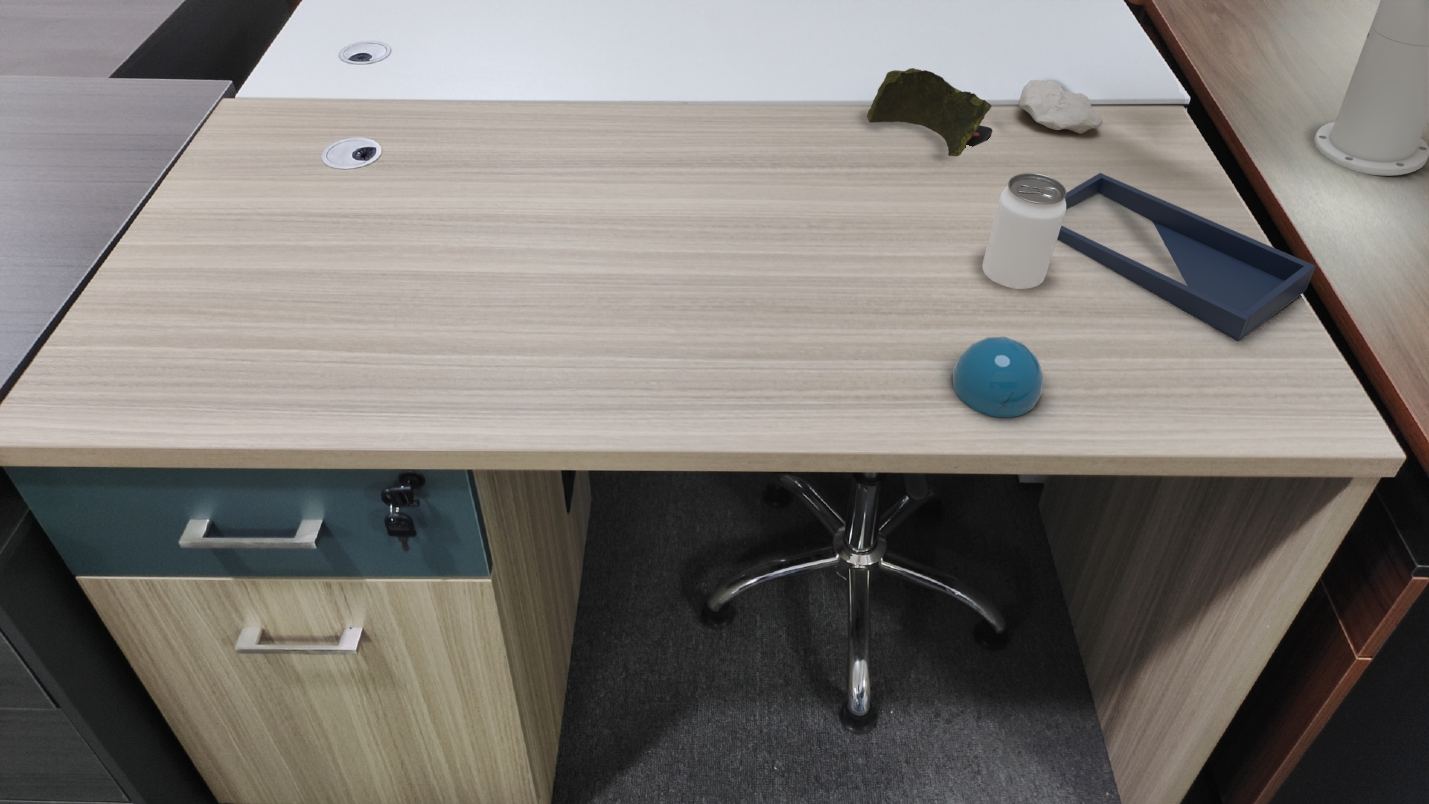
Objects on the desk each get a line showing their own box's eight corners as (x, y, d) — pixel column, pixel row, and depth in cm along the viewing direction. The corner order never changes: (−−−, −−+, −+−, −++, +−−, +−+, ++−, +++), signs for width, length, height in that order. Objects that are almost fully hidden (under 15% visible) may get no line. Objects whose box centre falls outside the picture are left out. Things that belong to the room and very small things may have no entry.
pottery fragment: (841, 140, 129) (846, 156, 133) (939, 185, 123) (942, 200, 127) (897, 52, 130) (901, 70, 133) (997, 93, 124) (998, 111, 128)
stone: (1090, 155, 129) (1082, 111, 141) (1107, 125, 126) (1097, 83, 138) (1011, 126, 129) (1009, 85, 141) (1026, 96, 126) (1023, 56, 138)
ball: (1047, 349, 96) (1073, 384, 88) (995, 415, 99) (1016, 455, 91) (978, 308, 94) (998, 341, 87) (927, 376, 97) (943, 414, 90)
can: (1040, 309, 106) (1072, 209, 97) (977, 300, 106) (1003, 200, 98) (1039, 273, 110) (1069, 175, 102) (978, 265, 111) (1003, 166, 103)
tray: (1095, 195, 120) (1100, 172, 118) (1306, 290, 105) (1316, 265, 103) (1025, 238, 115) (1029, 214, 113) (1236, 344, 100) (1246, 319, 98)
